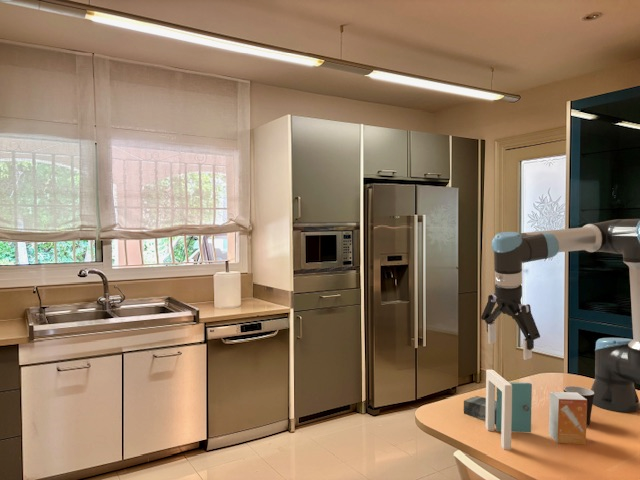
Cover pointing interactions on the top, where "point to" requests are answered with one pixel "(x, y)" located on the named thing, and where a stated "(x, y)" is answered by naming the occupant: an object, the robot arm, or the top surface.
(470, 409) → the stone block
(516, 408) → the door leaf
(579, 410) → the small box
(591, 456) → the top surface
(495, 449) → the top surface
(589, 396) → the coffee mug
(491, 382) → the door frame
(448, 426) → the top surface
